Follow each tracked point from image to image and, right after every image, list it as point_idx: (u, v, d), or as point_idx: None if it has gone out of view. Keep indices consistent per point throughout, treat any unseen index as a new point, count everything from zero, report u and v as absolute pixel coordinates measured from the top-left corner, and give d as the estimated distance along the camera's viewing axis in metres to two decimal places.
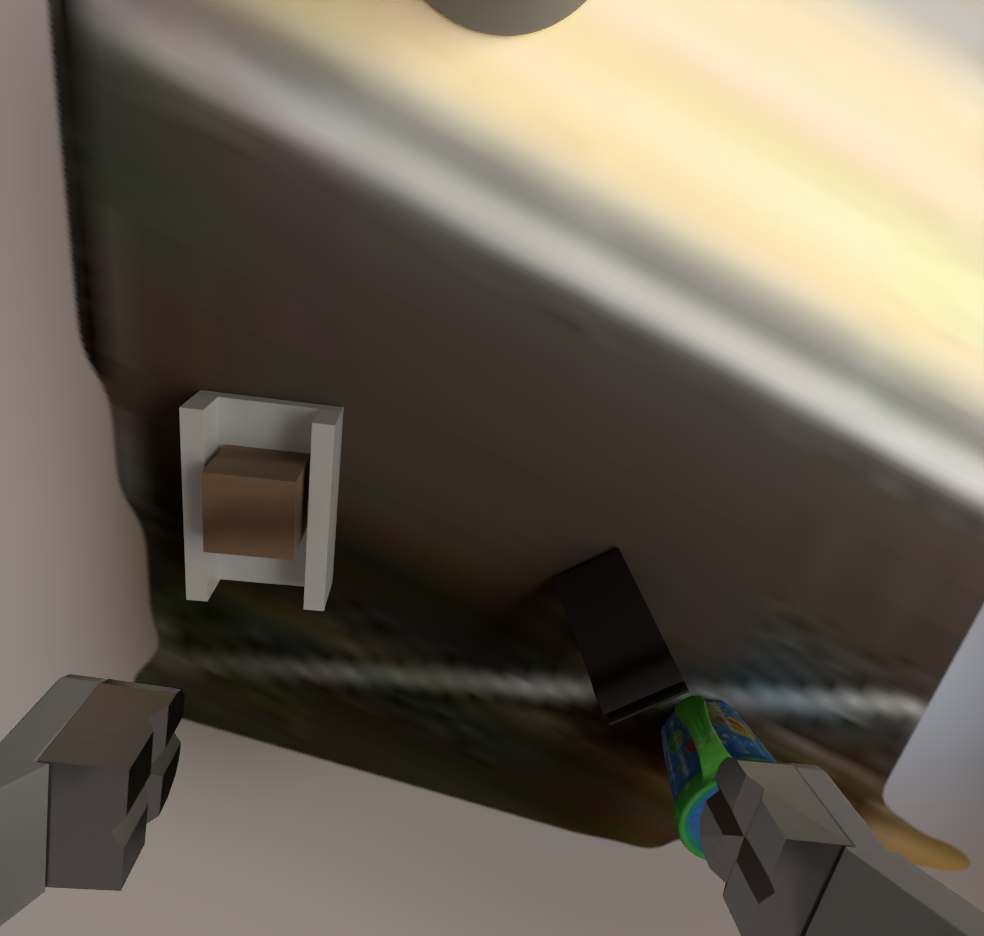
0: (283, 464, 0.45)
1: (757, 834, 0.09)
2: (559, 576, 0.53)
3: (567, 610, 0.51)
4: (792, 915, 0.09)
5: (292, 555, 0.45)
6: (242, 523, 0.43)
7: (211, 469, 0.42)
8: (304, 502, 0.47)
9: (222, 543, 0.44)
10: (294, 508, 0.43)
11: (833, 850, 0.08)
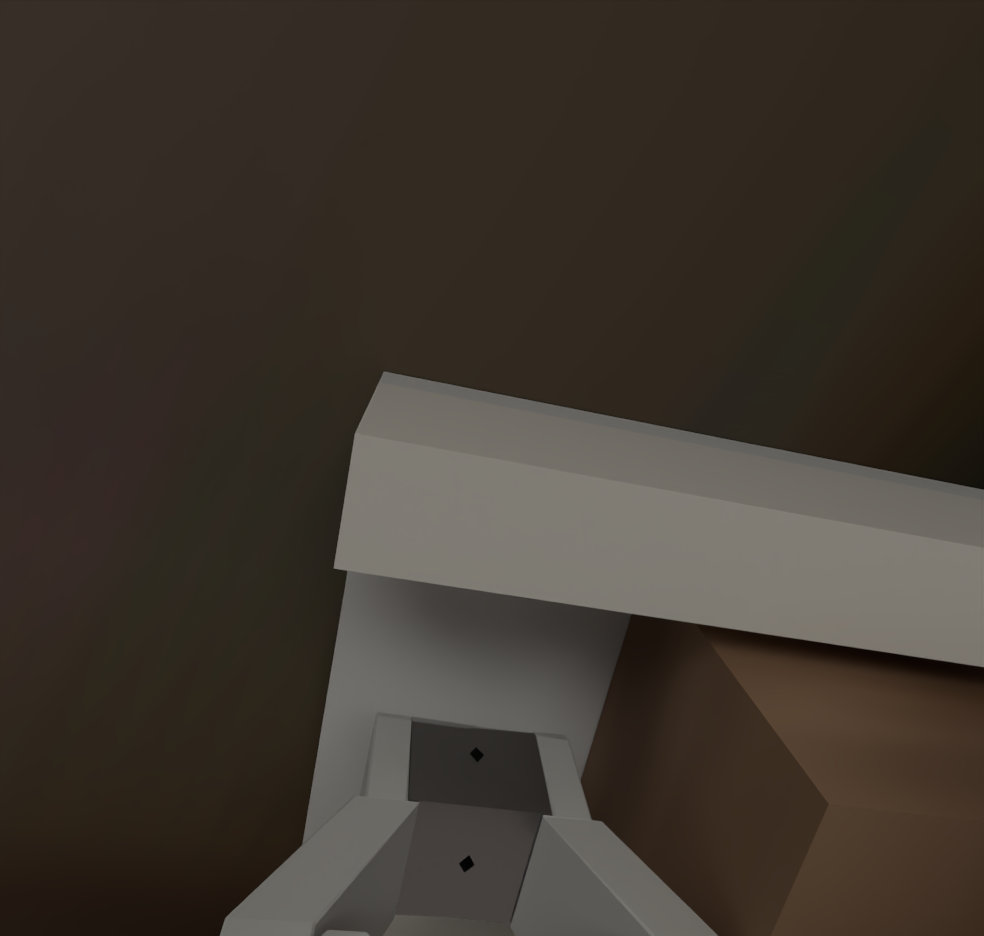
0: (678, 732, 0.09)
1: None
2: None
3: None
4: (498, 890, 0.08)
5: None
6: None
7: None
8: None
9: None
10: None
11: (531, 819, 0.08)
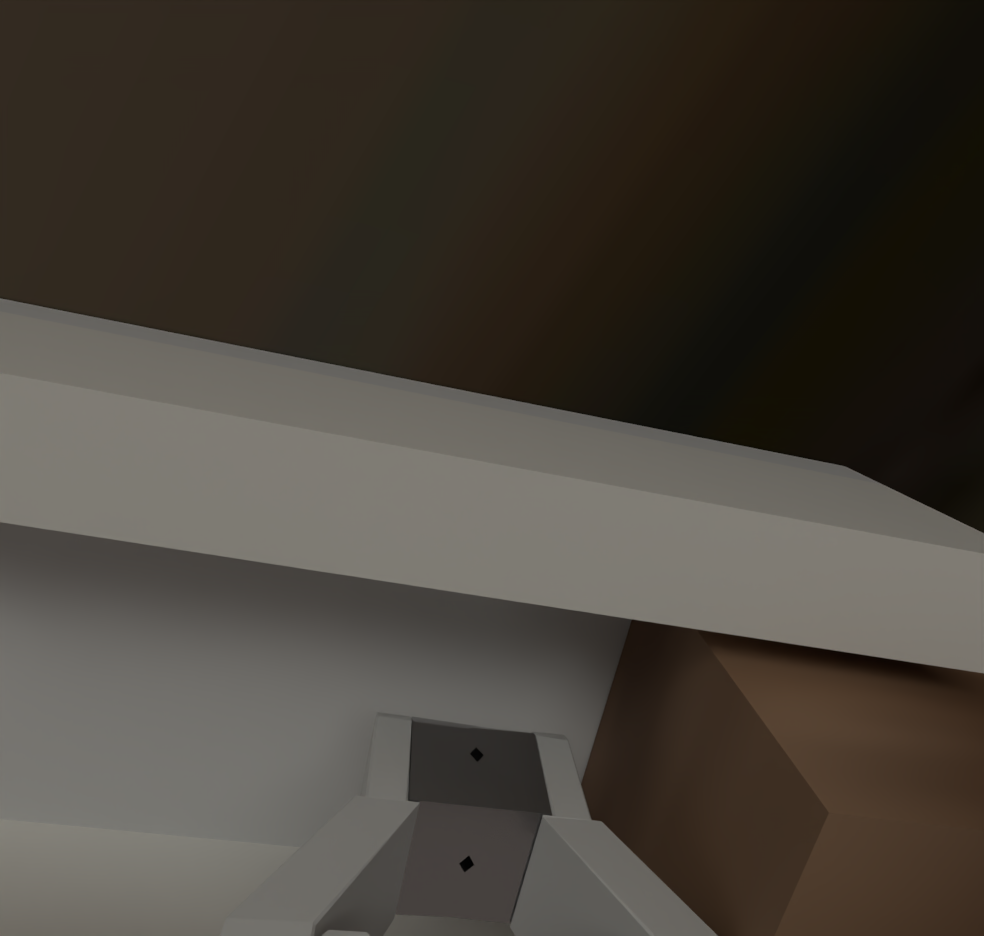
0: (677, 738, 0.08)
1: None
2: None
3: None
4: (498, 890, 0.08)
5: None
6: None
7: None
8: None
9: None
10: None
11: (531, 819, 0.08)
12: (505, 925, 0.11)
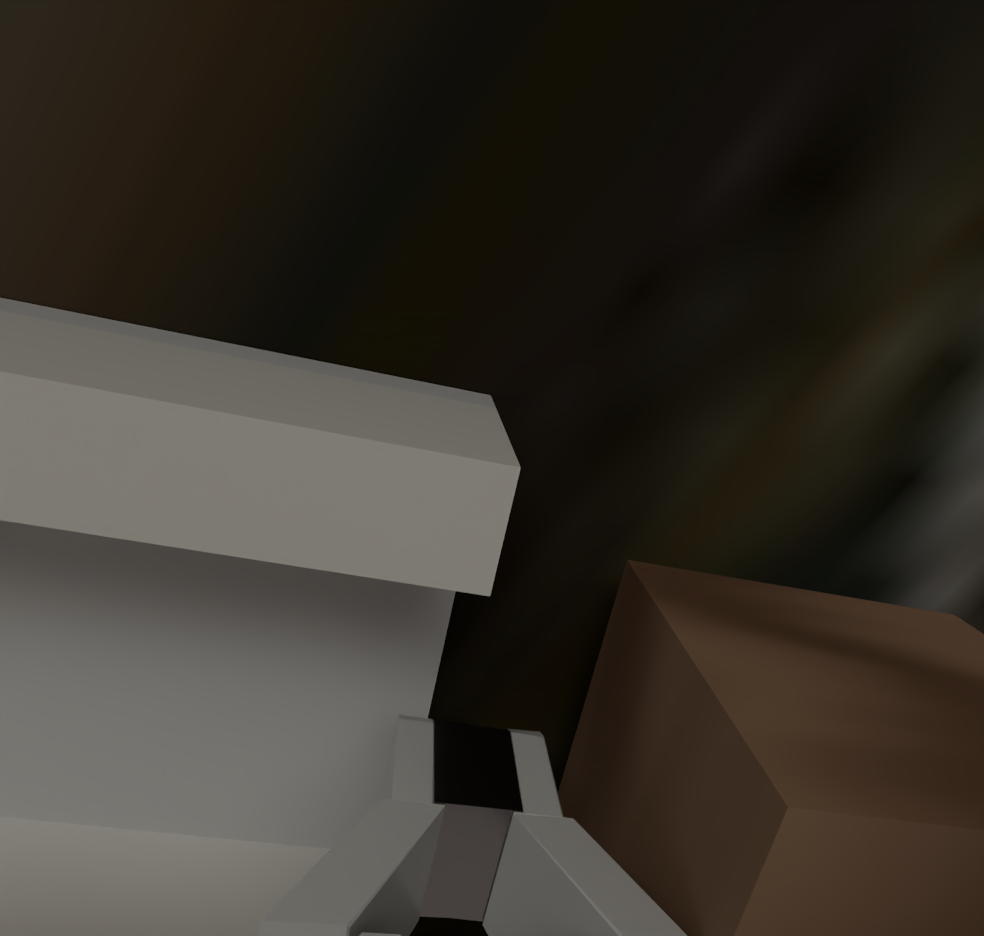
0: (650, 733, 0.08)
1: None
2: None
3: None
4: (470, 887, 0.08)
5: None
6: None
7: None
8: (868, 645, 0.09)
9: None
10: (980, 831, 0.06)
11: (502, 816, 0.08)
12: (109, 891, 0.10)
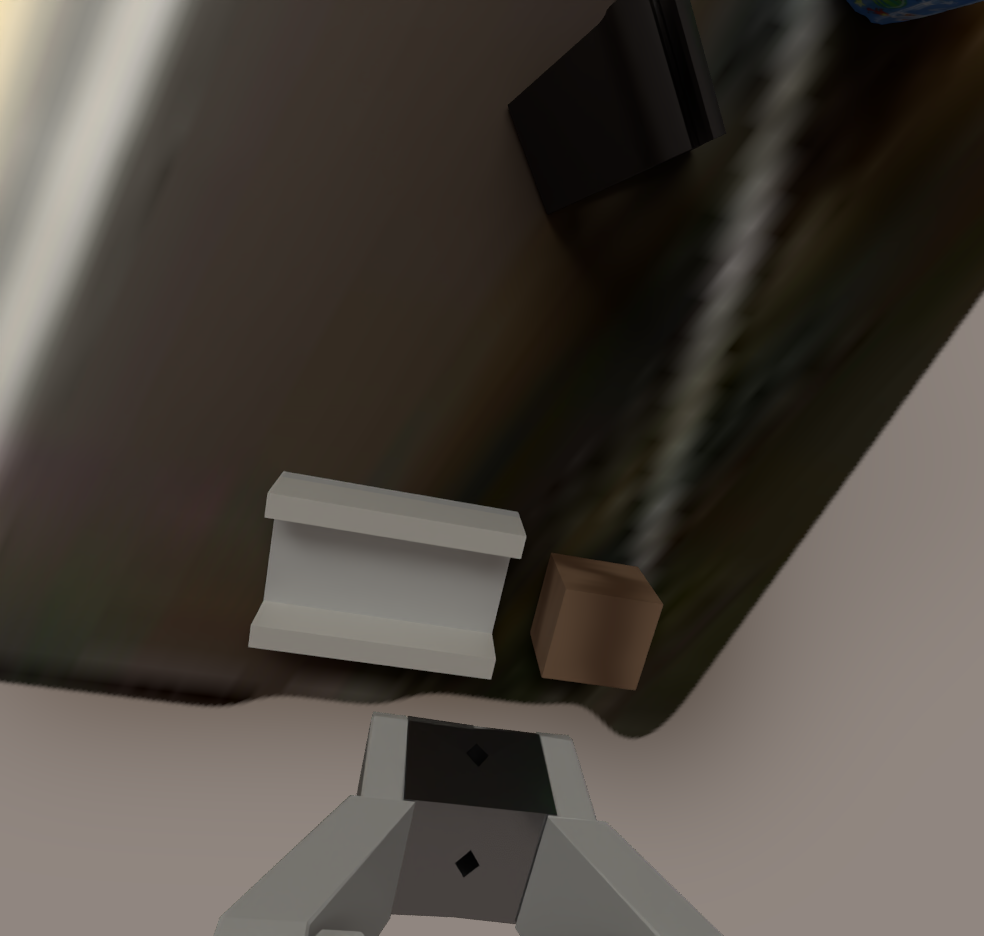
0: (552, 588, 0.40)
1: None
2: (544, 204, 0.36)
3: (576, 197, 0.33)
4: (503, 890, 0.08)
5: (656, 604, 0.38)
6: (608, 648, 0.39)
7: (542, 665, 0.39)
8: (603, 571, 0.41)
9: (628, 670, 0.39)
10: (598, 594, 0.38)
11: (536, 819, 0.08)
12: (425, 633, 0.42)
